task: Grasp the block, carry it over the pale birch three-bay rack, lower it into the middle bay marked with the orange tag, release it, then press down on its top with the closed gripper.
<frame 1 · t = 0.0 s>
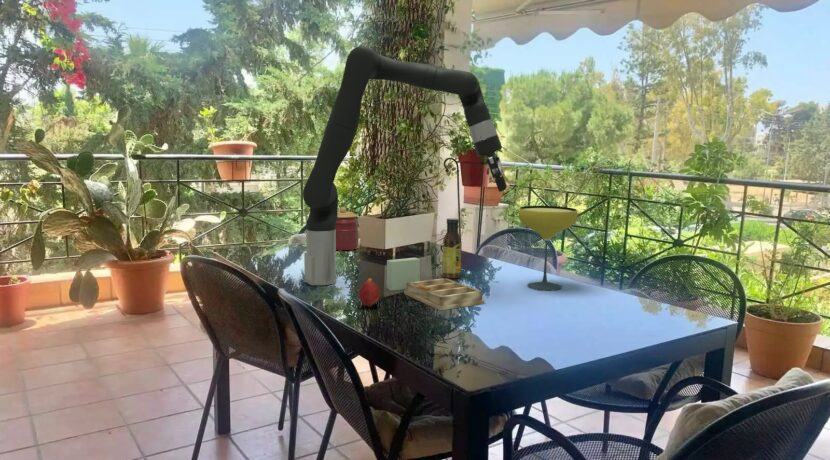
hand: (503, 189, 183), 31 cm above the table, tool tilted 20°, fingers open, 8 cm apart
rack: (443, 298, 180), on the table
sauce bottle: (451, 277, 208), on the table
canister: (343, 249, 259), on the table
block: (403, 288, 192), on the table
cocktail glass: (544, 287, 196), on the table
onion: (369, 307, 170), on the table
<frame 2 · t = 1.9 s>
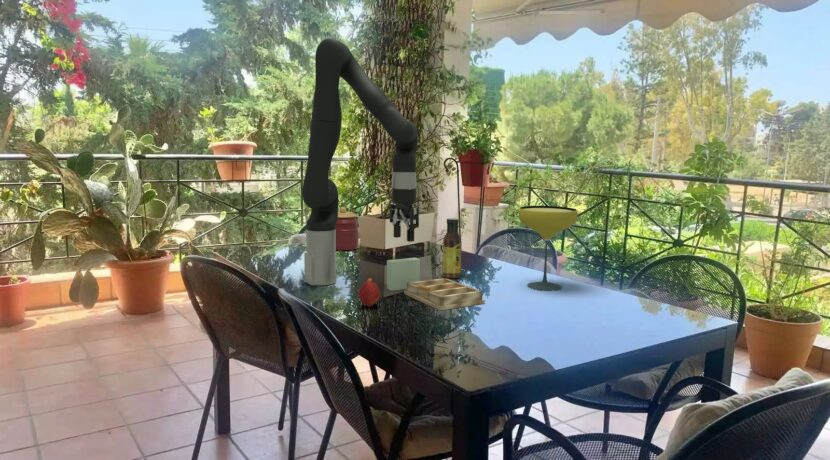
hand: (403, 239, 190), 15 cm above the table, tool pointing down, fingers open, 8 cm apart
nothing on the table moved.
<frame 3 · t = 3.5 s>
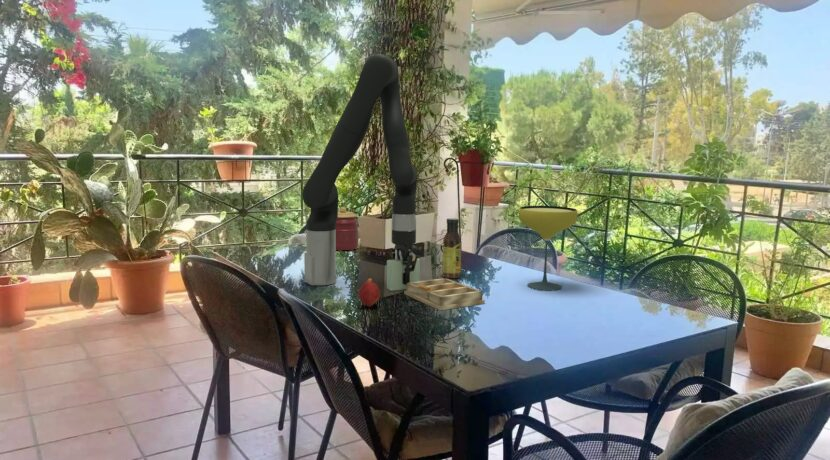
hand: (403, 282, 192), 2 cm above the table, tool pointing down, fingers closed on block, 3 cm apart
block: (403, 288, 192), on the table, touching gripper
everything else where it was.
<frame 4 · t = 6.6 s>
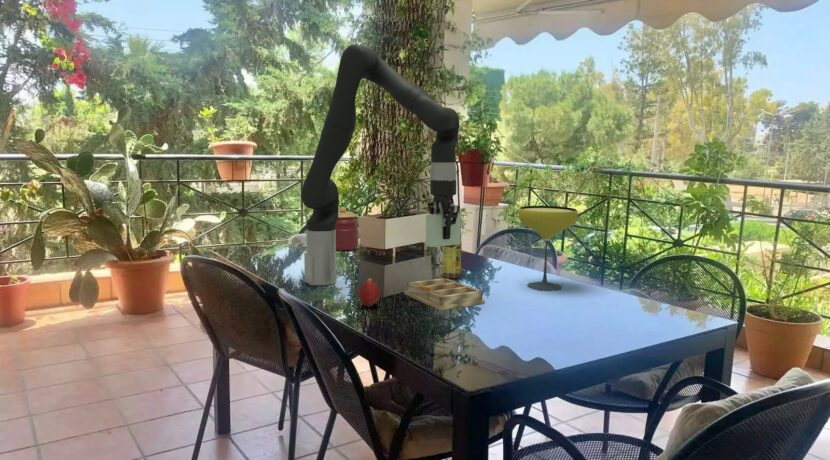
hand: (443, 237, 178), 18 cm above the table, tool pointing down, fingers closed on block, 3 cm apart
block: (443, 244, 178), point 16 cm above the table, touching gripper
everything else where it was.
when the fingers open (4 cm above the table, at t = 9.5 s): block stays where it is, resting on rack.
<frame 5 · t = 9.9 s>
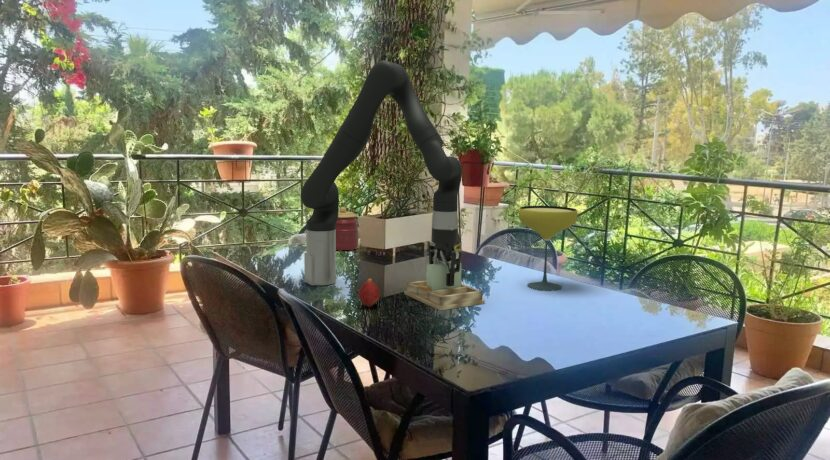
hand: (443, 283, 179), 5 cm above the table, tool pointing down, fingers open, 6 cm apart
block: (443, 294, 179), point 1 cm above the table, touching rack
everything else where it was.
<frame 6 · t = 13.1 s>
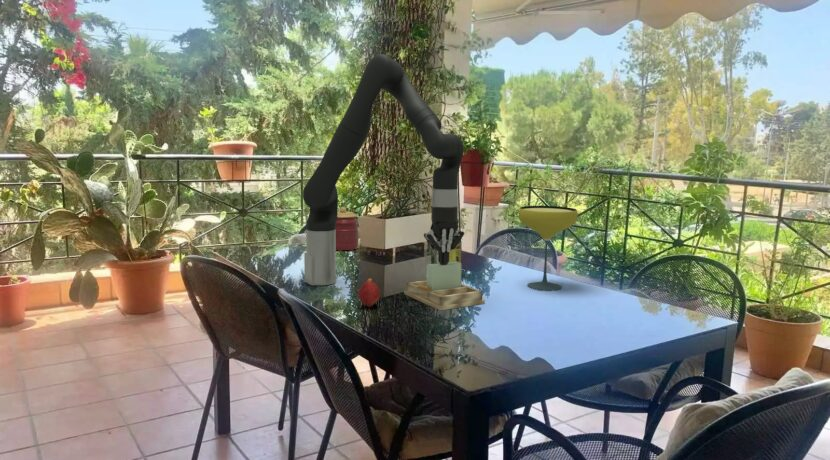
hand: (443, 264, 178), 10 cm above the table, tool pointing down, fingers closed
block: (443, 294, 179), point 1 cm above the table, touching gripper, rack
everything else where it was.
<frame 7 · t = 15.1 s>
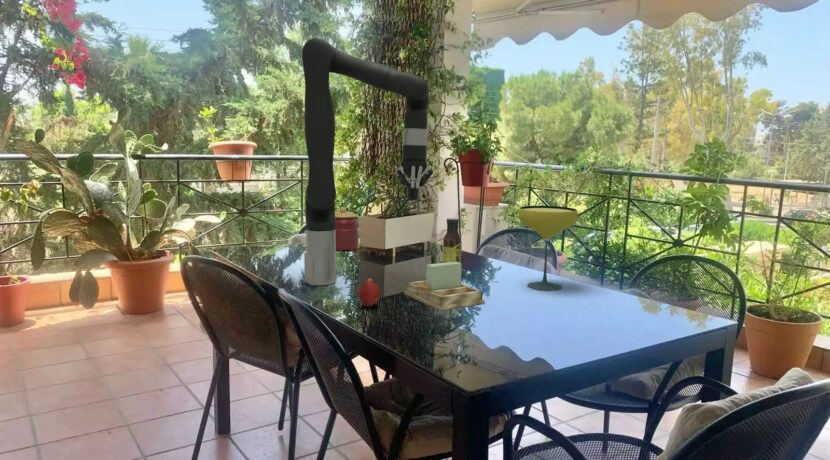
hand: (412, 200, 191), 27 cm above the table, tool pointing down, fingers closed
block: (443, 294, 179), point 1 cm above the table, touching rack
everything else where it was.
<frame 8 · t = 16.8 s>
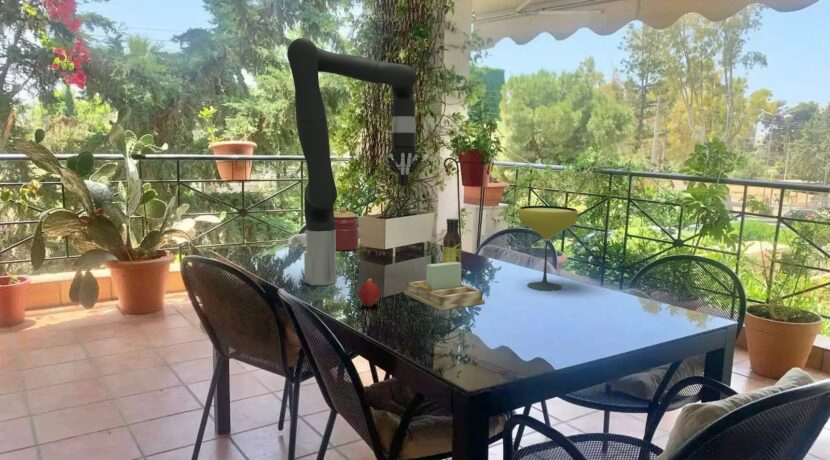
hand: (403, 186, 196), 31 cm above the table, tool pointing down, fingers closed
nothing on the table moved.
at the end: block 0.1 cm off-centre on the rack, point 1.3 cm above the rack's base; block tilted 0°; the gripper is holding nothing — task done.
